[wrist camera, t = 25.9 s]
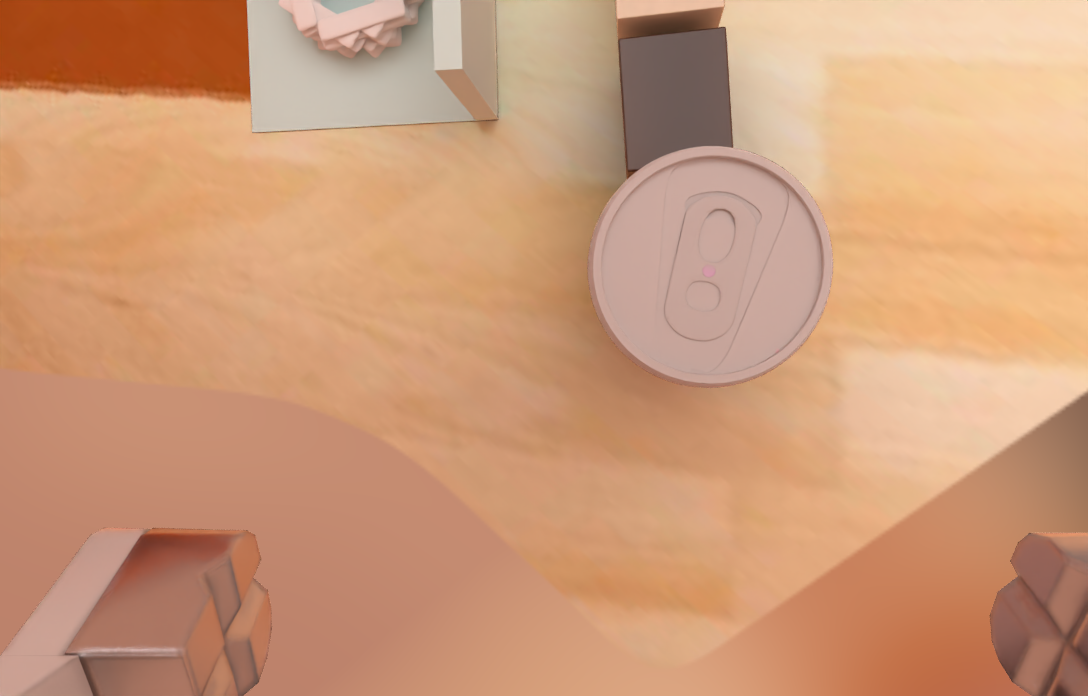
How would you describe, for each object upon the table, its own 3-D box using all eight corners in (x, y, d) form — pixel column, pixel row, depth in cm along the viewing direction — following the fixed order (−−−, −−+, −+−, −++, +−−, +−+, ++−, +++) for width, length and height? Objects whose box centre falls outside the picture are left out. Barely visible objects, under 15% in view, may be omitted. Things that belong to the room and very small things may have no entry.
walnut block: (627, 195, 35) (626, 171, 29) (620, 84, 35) (617, 38, 29) (717, 187, 35) (734, 161, 29) (710, 74, 34) (725, 25, 29)
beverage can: (767, 228, 35) (868, 167, 20) (732, 370, 35) (805, 416, 20) (623, 198, 35) (616, 117, 20) (591, 338, 36) (561, 358, 21)
